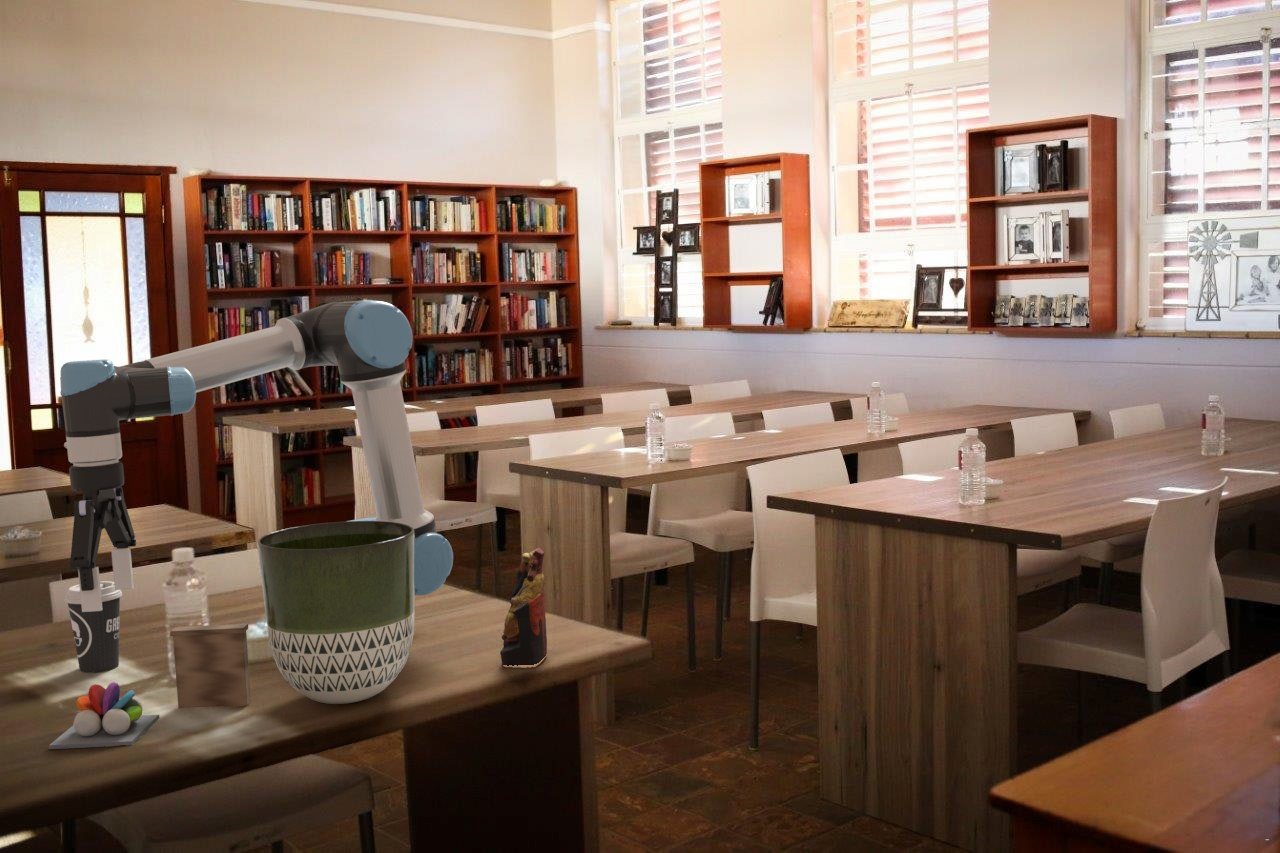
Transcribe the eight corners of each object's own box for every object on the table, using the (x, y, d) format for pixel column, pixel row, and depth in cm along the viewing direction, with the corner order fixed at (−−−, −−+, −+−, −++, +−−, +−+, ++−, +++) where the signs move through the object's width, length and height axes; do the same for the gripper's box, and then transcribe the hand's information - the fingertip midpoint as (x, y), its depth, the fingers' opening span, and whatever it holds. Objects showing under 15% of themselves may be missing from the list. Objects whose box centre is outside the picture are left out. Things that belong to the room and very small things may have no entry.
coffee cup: (106, 676, 221) (100, 592, 220) (58, 674, 223) (51, 591, 222) (138, 660, 231) (132, 580, 229) (92, 659, 233) (85, 579, 231)
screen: (253, 700, 204) (248, 623, 203) (249, 705, 202) (243, 627, 200) (181, 704, 204) (175, 627, 202) (175, 709, 201) (170, 631, 200)
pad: (159, 718, 197) (159, 714, 197) (132, 745, 185) (131, 741, 185) (81, 722, 196) (81, 718, 196) (49, 749, 185) (49, 745, 184)
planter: (294, 677, 217) (285, 522, 214) (435, 673, 216) (427, 518, 213) (246, 725, 192) (234, 551, 190) (404, 721, 191) (395, 547, 189)
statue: (512, 652, 228) (508, 543, 226) (554, 653, 226) (550, 544, 224) (490, 671, 216) (486, 556, 214) (535, 672, 214) (530, 557, 213)
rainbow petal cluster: (89, 721, 195) (85, 675, 194) (152, 718, 195) (148, 673, 194) (65, 740, 186) (61, 692, 186) (131, 737, 187) (127, 690, 186)
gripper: (100, 453, 202) (113, 582, 204) (35, 476, 177) (50, 622, 180) (148, 450, 202) (160, 579, 205) (89, 473, 178) (104, 619, 180)
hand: (109, 599), depth 192 cm, fingers open, 13 cm apart
